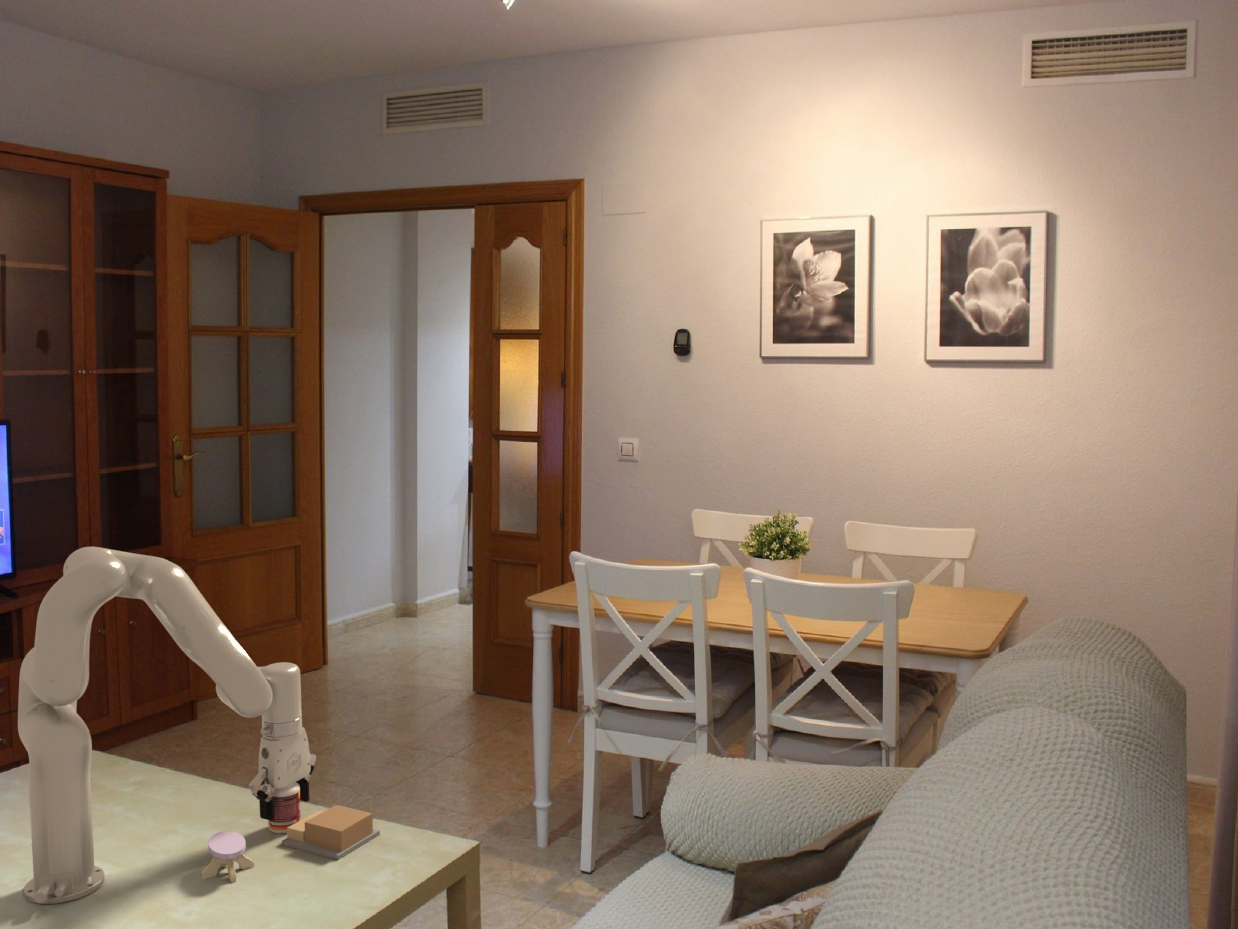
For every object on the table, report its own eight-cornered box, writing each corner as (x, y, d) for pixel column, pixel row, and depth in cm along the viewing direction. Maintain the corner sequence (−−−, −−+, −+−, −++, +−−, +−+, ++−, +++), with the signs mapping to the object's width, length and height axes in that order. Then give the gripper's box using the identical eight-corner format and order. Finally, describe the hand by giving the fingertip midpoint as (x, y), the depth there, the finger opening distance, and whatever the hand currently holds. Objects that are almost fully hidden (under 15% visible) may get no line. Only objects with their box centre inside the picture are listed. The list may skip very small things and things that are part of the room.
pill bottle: (306, 828, 211) (305, 774, 210) (277, 837, 207) (275, 783, 206) (291, 818, 216) (290, 766, 215) (263, 827, 211) (261, 774, 210)
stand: (379, 834, 208) (379, 811, 208) (338, 860, 198) (338, 835, 197) (324, 821, 215) (324, 798, 214) (281, 844, 204) (281, 820, 203)
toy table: (202, 864, 196) (201, 834, 196) (253, 856, 199) (252, 827, 199) (201, 888, 187) (200, 857, 186) (255, 880, 190) (254, 849, 190)
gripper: (264, 743, 200) (267, 830, 202) (327, 715, 216) (329, 796, 217) (234, 737, 203) (238, 823, 205) (298, 710, 219) (301, 790, 221)
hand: (285, 809), depth 211 cm, fingers open, 9 cm apart
